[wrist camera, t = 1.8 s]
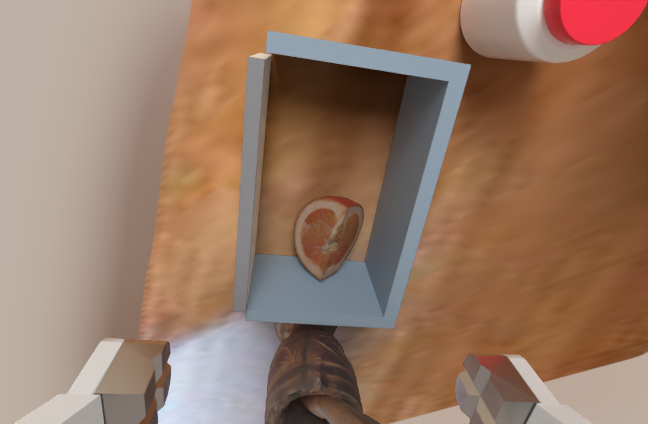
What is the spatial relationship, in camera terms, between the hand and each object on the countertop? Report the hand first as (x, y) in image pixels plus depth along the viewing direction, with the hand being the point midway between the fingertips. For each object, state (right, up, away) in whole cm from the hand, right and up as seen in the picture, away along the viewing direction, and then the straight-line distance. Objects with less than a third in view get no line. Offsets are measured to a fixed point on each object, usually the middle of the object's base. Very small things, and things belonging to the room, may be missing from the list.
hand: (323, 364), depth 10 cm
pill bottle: (+15, +21, +21) cm, 34 cm away
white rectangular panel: (-7, +9, +24) cm, 27 cm away
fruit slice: (0, +3, +28) cm, 28 cm away
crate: (0, +8, +25) cm, 27 cm away
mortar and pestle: (-1, -7, +33) cm, 33 cm away
